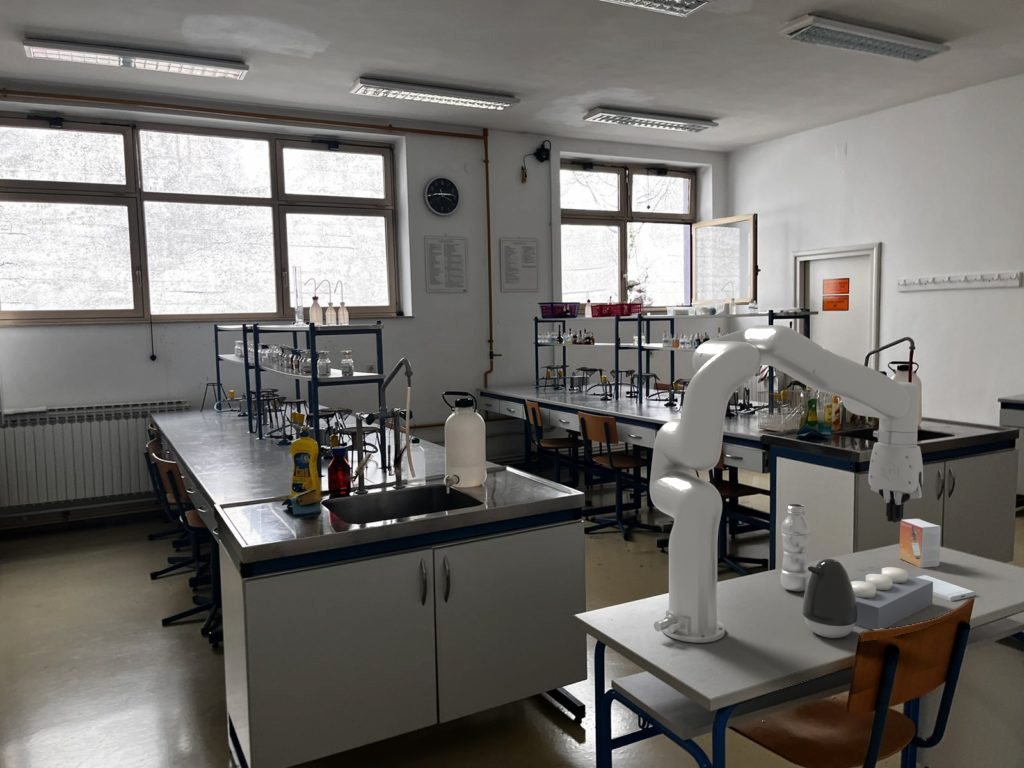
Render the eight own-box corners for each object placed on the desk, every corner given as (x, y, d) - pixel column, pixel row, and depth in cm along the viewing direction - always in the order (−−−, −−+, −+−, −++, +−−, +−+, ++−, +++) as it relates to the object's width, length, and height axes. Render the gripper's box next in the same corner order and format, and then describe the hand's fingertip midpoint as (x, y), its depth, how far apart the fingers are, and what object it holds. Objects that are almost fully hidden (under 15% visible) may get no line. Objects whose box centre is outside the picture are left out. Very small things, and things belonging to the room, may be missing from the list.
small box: (898, 558, 198) (899, 519, 197) (917, 557, 199) (918, 517, 198) (920, 568, 190) (922, 527, 189) (940, 566, 191) (941, 525, 190)
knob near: (867, 618, 156) (868, 591, 155) (843, 611, 160) (844, 584, 160) (880, 612, 159) (880, 585, 159) (856, 605, 163) (856, 579, 163)
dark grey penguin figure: (790, 627, 155) (791, 554, 154) (831, 620, 158) (832, 549, 157) (826, 647, 145) (827, 570, 144) (868, 639, 149) (870, 563, 147)
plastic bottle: (815, 594, 173) (816, 508, 171) (785, 594, 173) (786, 509, 172) (804, 585, 179) (806, 502, 178) (776, 585, 180) (777, 502, 178)
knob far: (900, 602, 164) (900, 576, 164) (876, 595, 168) (877, 570, 168) (911, 597, 168) (912, 571, 167) (888, 590, 172) (888, 565, 171)
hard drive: (902, 579, 179) (950, 596, 168) (926, 574, 182) (975, 590, 171) (902, 586, 179) (950, 603, 168) (926, 581, 182) (975, 597, 171)
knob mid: (884, 610, 160) (885, 583, 160) (860, 603, 164) (861, 577, 164) (896, 604, 163) (896, 578, 163) (872, 597, 167) (873, 572, 167)
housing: (878, 632, 152) (878, 607, 151) (822, 614, 161) (822, 591, 161) (932, 603, 166) (933, 581, 166) (878, 589, 176) (878, 568, 175)
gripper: (855, 436, 169) (852, 516, 170) (925, 444, 157) (921, 531, 158) (872, 433, 173) (869, 511, 175) (941, 441, 162) (937, 525, 163)
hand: (894, 520), depth 167 cm, fingers closed
